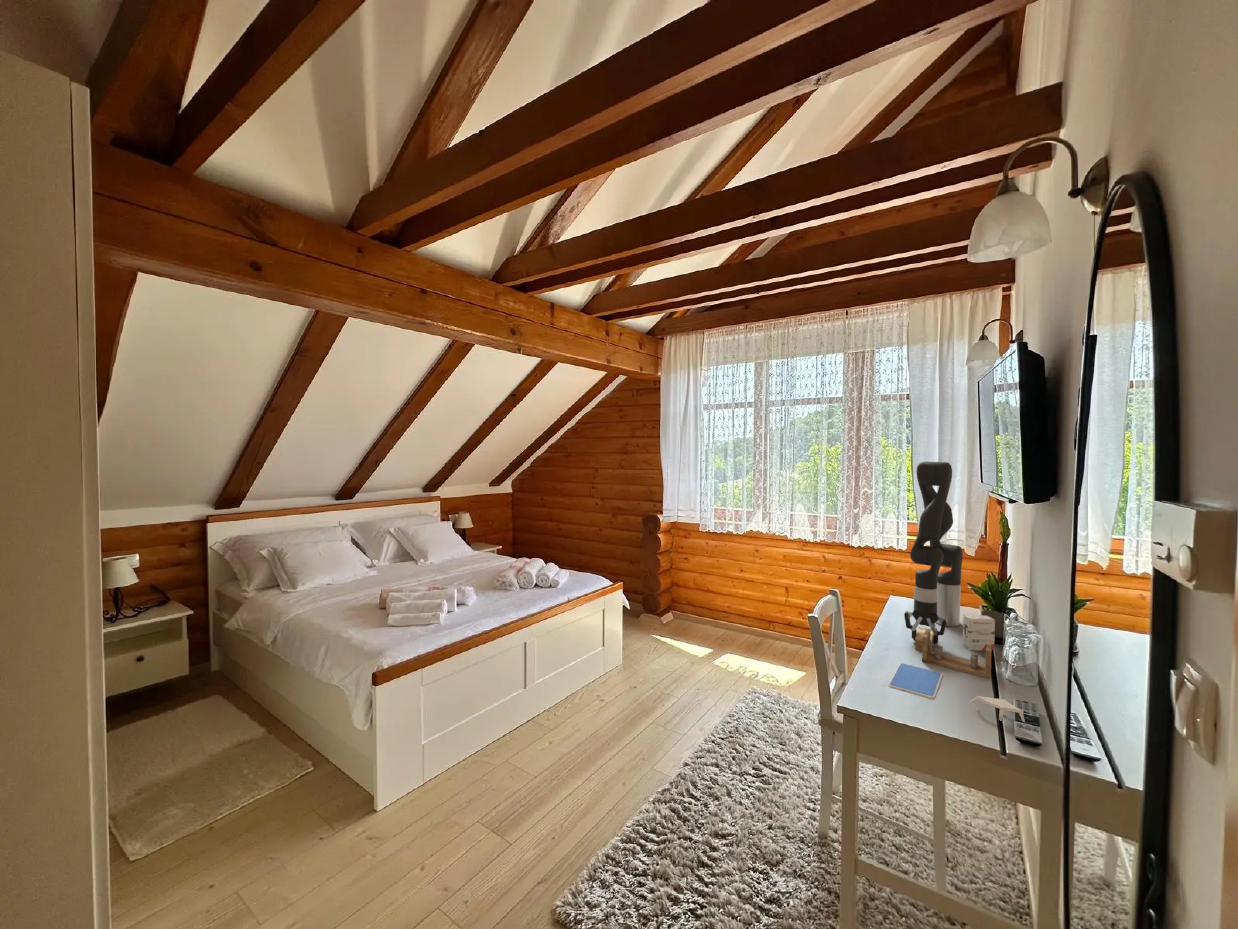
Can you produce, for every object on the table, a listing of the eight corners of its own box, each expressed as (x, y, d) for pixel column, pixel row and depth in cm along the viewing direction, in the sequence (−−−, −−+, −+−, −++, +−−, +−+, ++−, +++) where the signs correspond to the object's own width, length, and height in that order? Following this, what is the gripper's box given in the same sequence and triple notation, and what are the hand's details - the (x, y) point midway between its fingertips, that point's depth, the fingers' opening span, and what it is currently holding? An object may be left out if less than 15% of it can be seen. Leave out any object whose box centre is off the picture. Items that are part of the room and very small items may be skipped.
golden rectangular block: (918, 637, 194) (918, 627, 194) (933, 640, 191) (933, 630, 191) (915, 649, 183) (915, 639, 182) (930, 653, 180) (931, 642, 179)
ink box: (986, 645, 185) (987, 614, 184) (994, 651, 180) (995, 619, 179) (961, 644, 186) (962, 614, 185) (969, 650, 181) (970, 619, 180)
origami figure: (1021, 717, 138) (1022, 700, 138) (1025, 732, 131) (1025, 714, 131) (969, 705, 145) (969, 688, 145) (969, 718, 138) (970, 701, 138)
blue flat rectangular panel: (934, 701, 148) (934, 697, 148) (887, 688, 156) (887, 684, 156) (942, 676, 163) (943, 673, 163) (899, 665, 171) (899, 662, 171)
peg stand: (925, 652, 179) (926, 628, 179) (991, 667, 167) (991, 642, 167) (922, 661, 172) (922, 636, 172) (989, 678, 160) (990, 651, 160)
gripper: (949, 599, 184) (948, 643, 185) (905, 592, 193) (904, 634, 194) (947, 605, 178) (946, 650, 179) (902, 597, 187) (901, 640, 188)
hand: (924, 642), depth 187 cm, fingers open, 5 cm apart
